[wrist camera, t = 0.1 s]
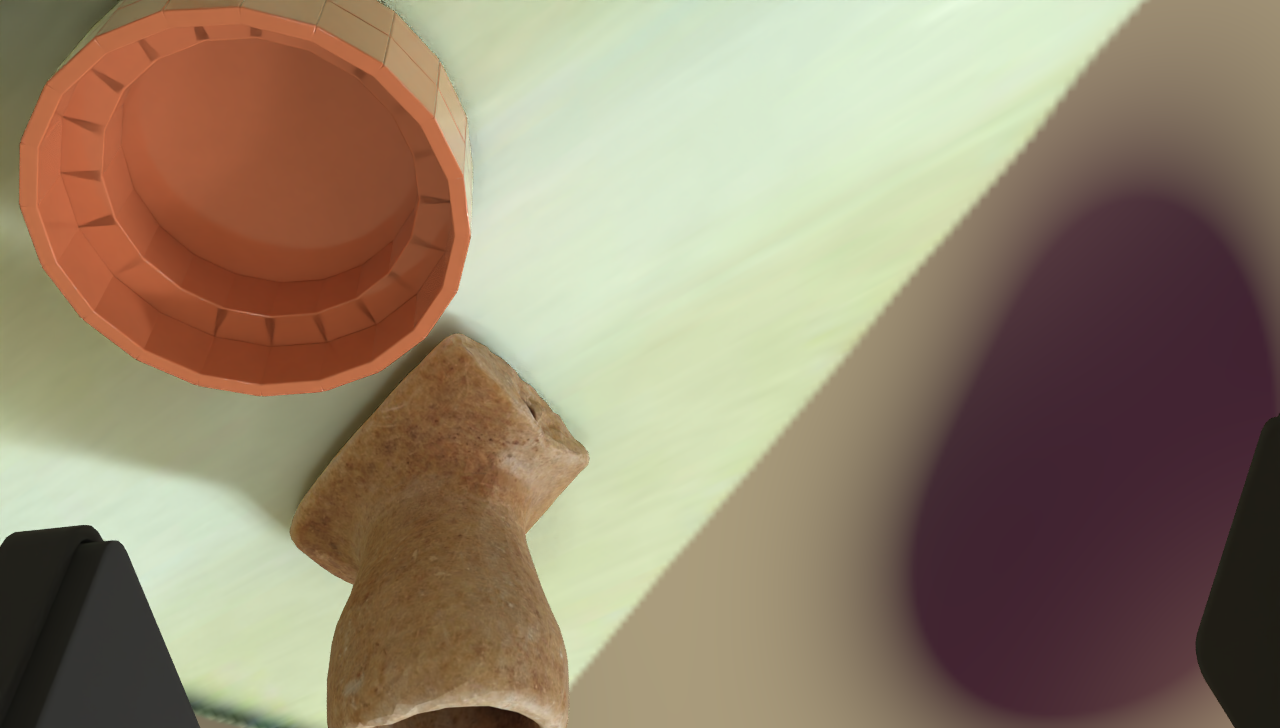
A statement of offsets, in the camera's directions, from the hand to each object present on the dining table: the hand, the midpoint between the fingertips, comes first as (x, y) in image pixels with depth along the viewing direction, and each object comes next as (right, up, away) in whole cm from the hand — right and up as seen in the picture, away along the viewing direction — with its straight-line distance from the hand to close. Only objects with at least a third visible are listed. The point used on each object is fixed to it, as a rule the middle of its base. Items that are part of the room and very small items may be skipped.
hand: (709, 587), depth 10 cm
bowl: (-15, +10, +37) cm, 41 cm away
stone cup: (-9, -3, +47) cm, 48 cm away
